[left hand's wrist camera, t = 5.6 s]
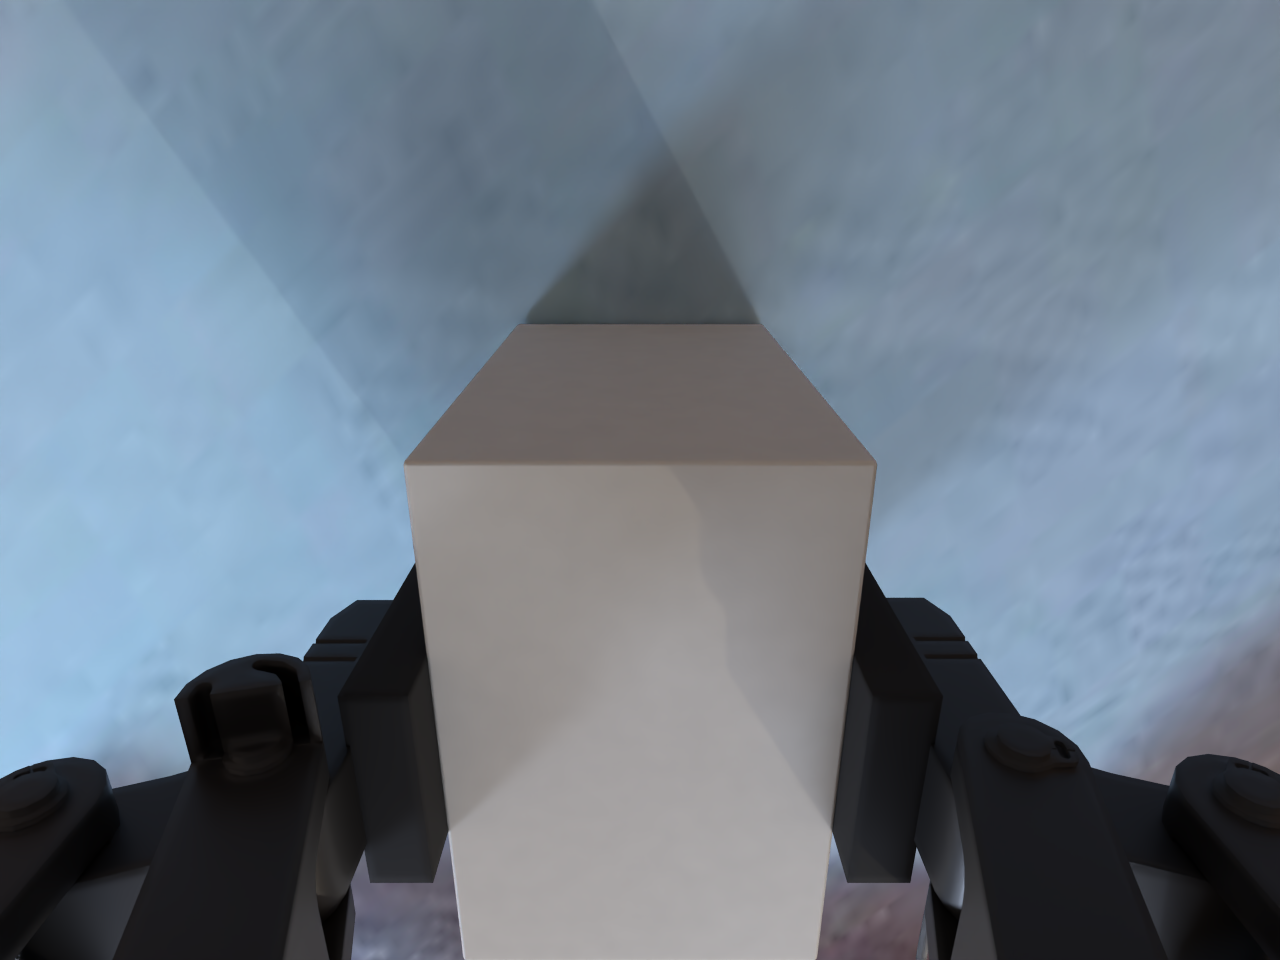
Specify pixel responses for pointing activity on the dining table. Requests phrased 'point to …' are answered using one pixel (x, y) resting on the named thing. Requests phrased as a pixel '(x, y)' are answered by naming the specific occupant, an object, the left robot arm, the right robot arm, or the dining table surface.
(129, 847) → the left robot arm
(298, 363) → the dining table surface
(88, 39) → the dining table surface
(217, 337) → the dining table surface
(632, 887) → the brick
